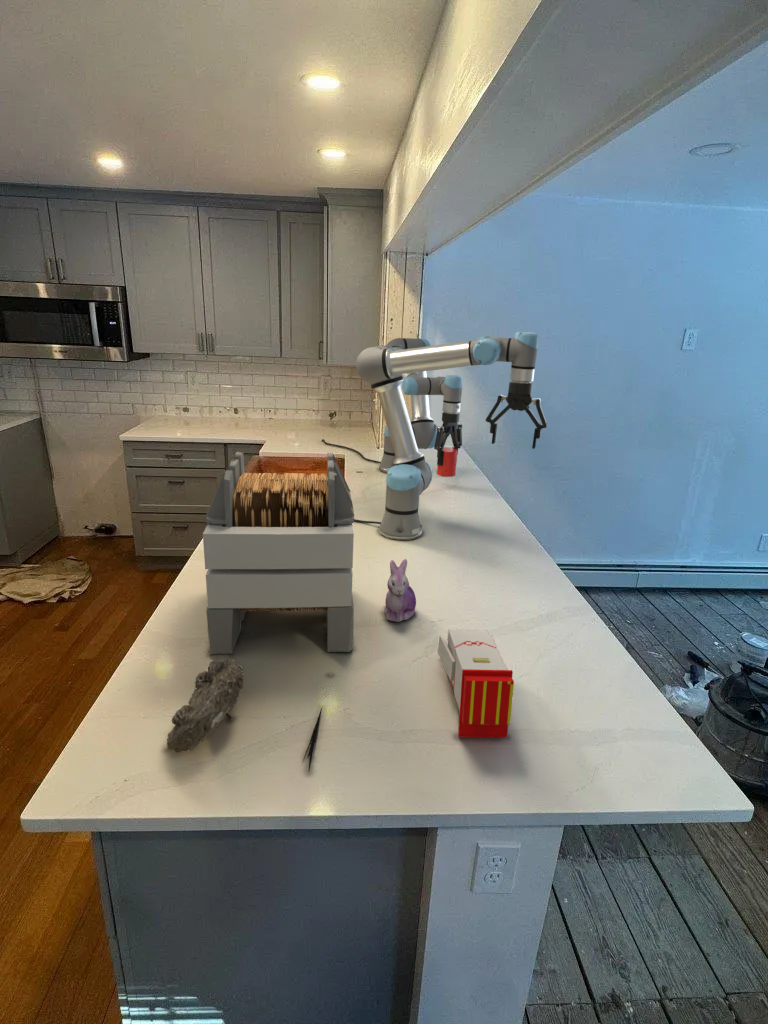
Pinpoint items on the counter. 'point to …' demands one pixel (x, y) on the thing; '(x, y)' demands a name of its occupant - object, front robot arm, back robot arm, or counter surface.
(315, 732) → the feather
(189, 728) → the fossil
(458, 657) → the toy
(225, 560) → the record storage crate
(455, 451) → the tin
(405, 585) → the figurine
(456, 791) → the counter surface
